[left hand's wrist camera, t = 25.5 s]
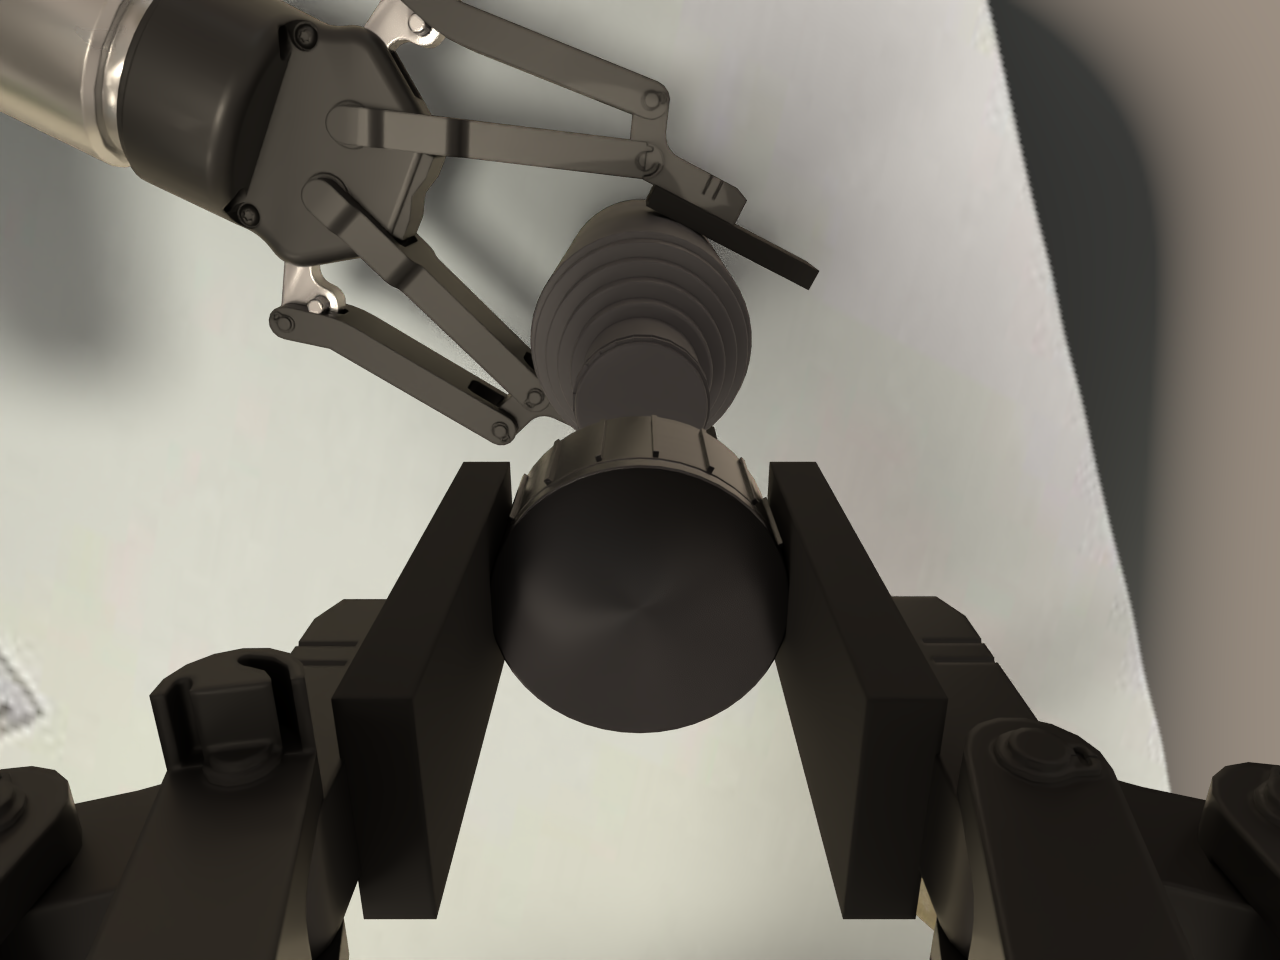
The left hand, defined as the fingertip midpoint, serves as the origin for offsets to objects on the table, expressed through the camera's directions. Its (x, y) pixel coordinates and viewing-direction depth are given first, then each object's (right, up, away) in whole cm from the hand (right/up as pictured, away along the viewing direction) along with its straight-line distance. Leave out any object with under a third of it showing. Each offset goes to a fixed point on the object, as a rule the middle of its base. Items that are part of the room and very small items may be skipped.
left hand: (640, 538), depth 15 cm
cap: (0, -1, -2) cm, 2 cm away
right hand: (+4, +5, +19) cm, 20 cm away
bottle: (0, +10, +24) cm, 26 cm away
